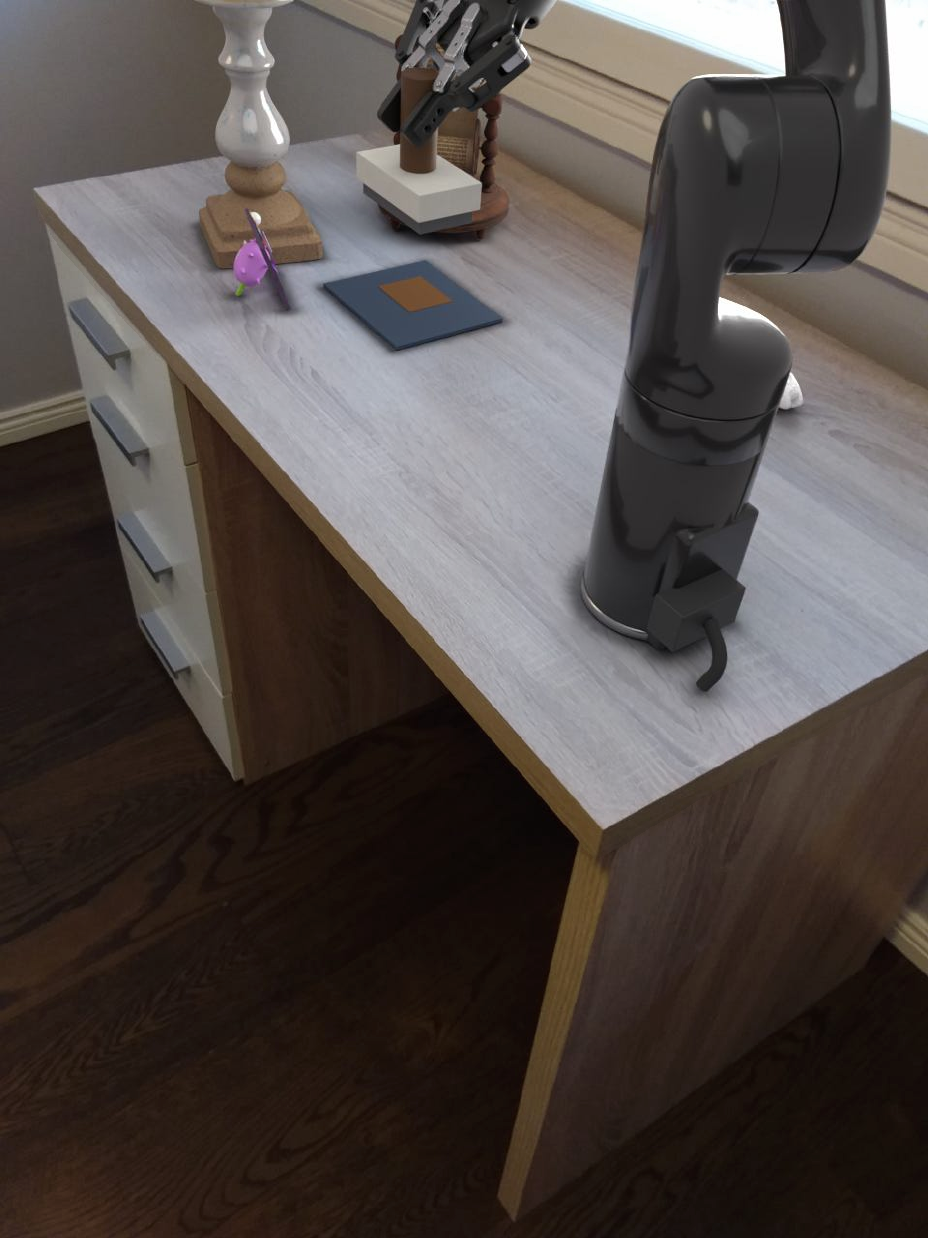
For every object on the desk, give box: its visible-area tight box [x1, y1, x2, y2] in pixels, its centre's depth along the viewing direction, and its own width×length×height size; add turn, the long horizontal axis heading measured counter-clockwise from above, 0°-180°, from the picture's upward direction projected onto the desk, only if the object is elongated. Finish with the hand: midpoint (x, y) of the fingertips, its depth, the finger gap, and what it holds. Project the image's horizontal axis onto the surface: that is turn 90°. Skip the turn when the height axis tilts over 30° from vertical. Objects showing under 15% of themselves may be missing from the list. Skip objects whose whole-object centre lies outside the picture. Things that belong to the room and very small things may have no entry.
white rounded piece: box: [778, 371, 804, 410], centre depth 91 cm, size 3×8×3 cm, turn 17°
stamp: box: [355, 67, 482, 235], centre depth 83 cm, size 10×6×10 cm, turn 34°
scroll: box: [376, 33, 510, 241], centre depth 108 cm, size 15×15×20 cm
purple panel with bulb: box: [233, 208, 292, 311], centre depth 98 cm, size 7×5×9 cm
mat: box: [322, 259, 504, 351], centre depth 100 cm, size 14×12×1 cm
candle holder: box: [193, 0, 324, 269], centre depth 99 cm, size 11×11×24 cm
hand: (397, 131), depth 81 cm, fingers closed on stamp, 3 cm apart
